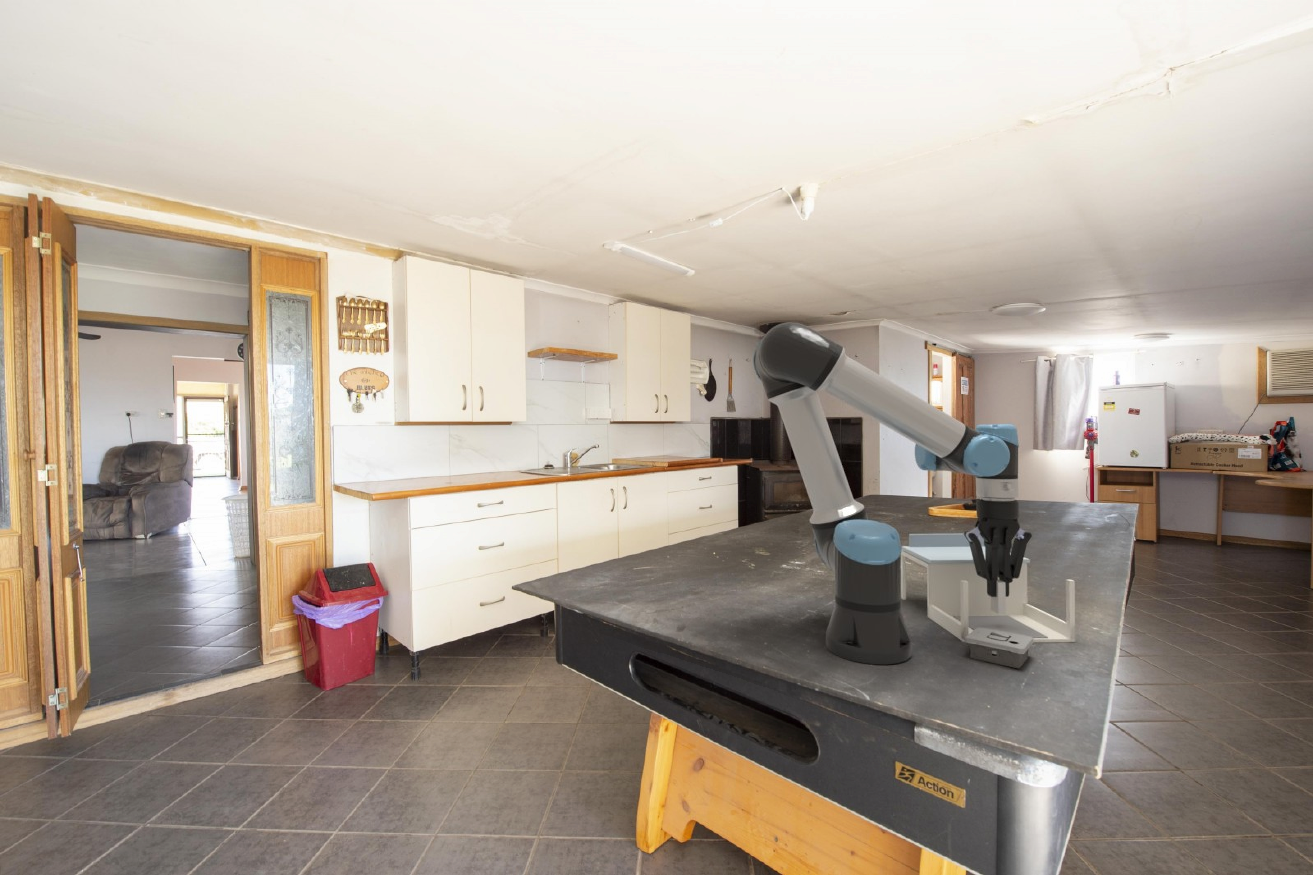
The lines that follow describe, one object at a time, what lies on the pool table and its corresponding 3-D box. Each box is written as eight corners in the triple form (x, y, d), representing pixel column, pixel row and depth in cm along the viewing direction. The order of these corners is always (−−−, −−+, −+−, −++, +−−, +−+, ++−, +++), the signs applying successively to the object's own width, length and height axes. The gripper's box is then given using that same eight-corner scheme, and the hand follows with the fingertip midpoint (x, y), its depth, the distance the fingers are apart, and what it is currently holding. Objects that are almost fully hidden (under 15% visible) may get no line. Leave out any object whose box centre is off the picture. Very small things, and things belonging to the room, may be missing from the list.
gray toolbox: (1025, 650, 97) (966, 628, 103) (1018, 679, 98) (960, 655, 104) (1036, 637, 104) (980, 618, 110) (1030, 664, 104) (974, 643, 111)
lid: (930, 563, 125) (930, 546, 125) (901, 549, 140) (901, 534, 140) (1029, 563, 124) (1029, 545, 124) (990, 548, 140) (990, 533, 140)
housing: (963, 642, 111) (963, 581, 111) (901, 598, 141) (901, 550, 140) (1075, 642, 111) (1074, 580, 111) (989, 598, 140) (989, 549, 140)
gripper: (975, 501, 114) (976, 618, 115) (1040, 500, 114) (1041, 617, 114) (956, 496, 122) (957, 606, 122) (1017, 496, 122) (1018, 606, 122)
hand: (998, 611), depth 118 cm, fingers closed
